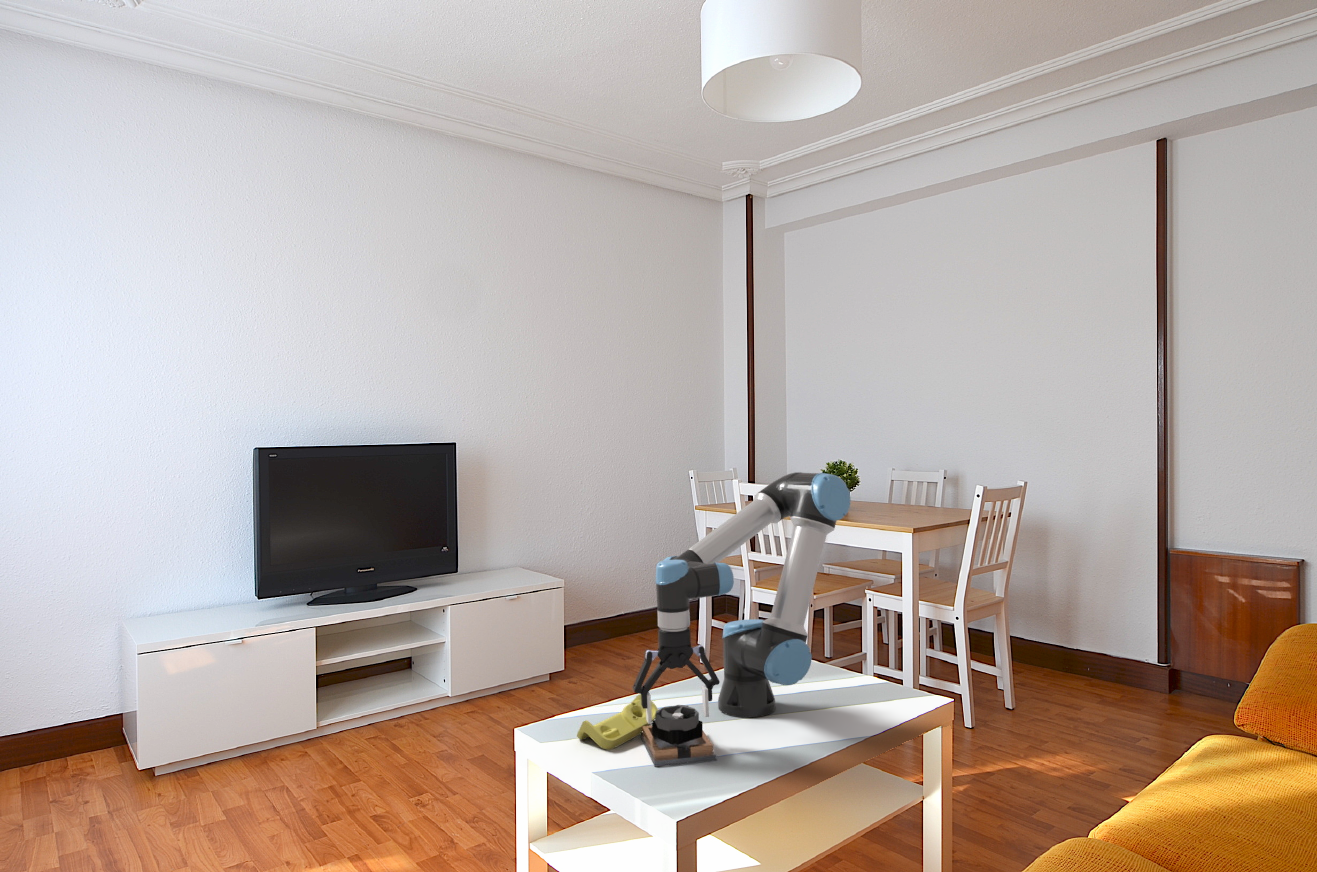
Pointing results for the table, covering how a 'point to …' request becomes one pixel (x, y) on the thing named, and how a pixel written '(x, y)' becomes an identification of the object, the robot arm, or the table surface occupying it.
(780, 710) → the table surface
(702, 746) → the board
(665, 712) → the cpu cooler
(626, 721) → the plastic component
